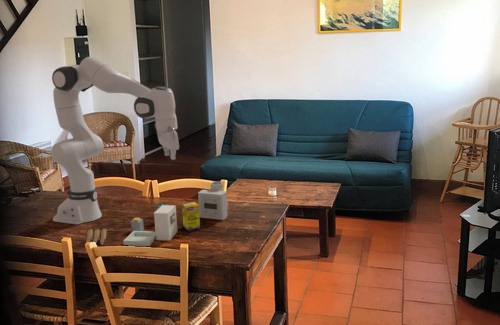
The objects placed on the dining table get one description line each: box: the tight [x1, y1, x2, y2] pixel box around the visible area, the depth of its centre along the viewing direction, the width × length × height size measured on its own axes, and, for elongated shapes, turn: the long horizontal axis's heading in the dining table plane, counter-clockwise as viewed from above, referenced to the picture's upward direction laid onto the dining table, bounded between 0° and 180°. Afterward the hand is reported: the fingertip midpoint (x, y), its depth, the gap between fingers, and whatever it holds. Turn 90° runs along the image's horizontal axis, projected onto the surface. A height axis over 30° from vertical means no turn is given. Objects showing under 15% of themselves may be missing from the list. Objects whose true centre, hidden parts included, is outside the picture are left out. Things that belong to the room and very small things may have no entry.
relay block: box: [130, 217, 145, 233], centre depth 230 cm, size 4×4×6 cm
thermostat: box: [197, 181, 228, 221], centre depth 247 cm, size 12×14×15 cm
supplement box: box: [181, 201, 201, 232], centre depth 231 cm, size 6×6×11 cm
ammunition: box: [85, 228, 107, 246], centre depth 220 cm, size 5×7×8 cm
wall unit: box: [153, 204, 178, 241], centre depth 223 cm, size 7×10×12 cm
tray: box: [122, 230, 157, 247], centre depth 220 cm, size 11×11×2 cm
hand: (170, 157), depth 224 cm, fingers open, 8 cm apart
